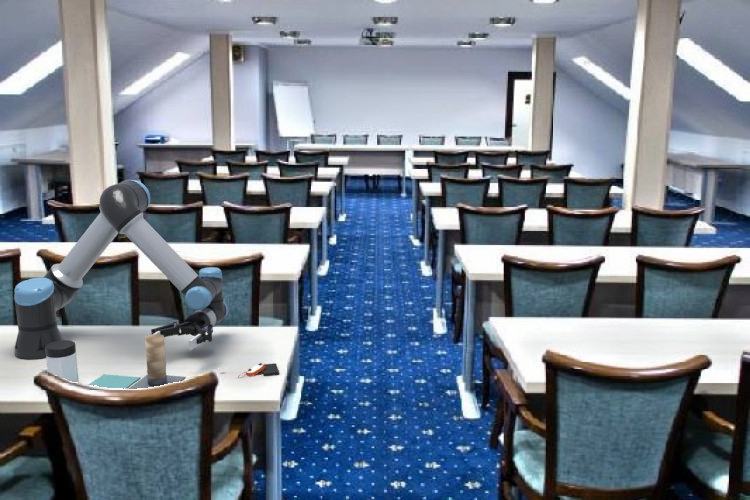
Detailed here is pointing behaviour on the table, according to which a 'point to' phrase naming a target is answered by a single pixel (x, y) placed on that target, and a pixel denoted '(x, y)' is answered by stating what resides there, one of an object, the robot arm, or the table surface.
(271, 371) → the multimeter
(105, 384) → the teal seat
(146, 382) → the slate seat
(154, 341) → the banded sleeve
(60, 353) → the jar
